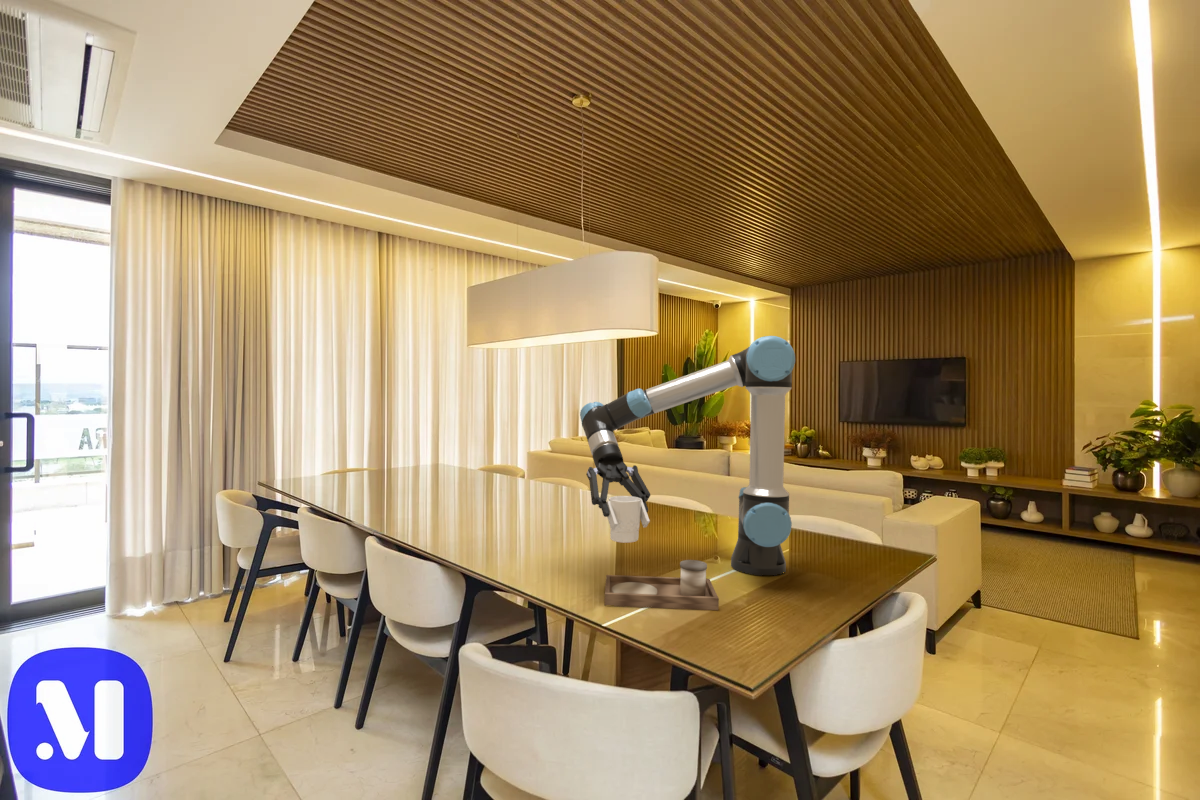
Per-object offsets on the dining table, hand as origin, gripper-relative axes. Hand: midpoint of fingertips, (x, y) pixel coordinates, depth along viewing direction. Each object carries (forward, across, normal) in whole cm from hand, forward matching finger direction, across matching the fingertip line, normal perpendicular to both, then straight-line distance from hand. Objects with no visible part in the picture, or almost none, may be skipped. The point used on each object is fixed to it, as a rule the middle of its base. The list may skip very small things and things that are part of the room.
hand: (630, 525), depth 137 cm
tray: (+14, -7, -11) cm, 19 cm away
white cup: (+1, 0, -6) cm, 6 cm away
